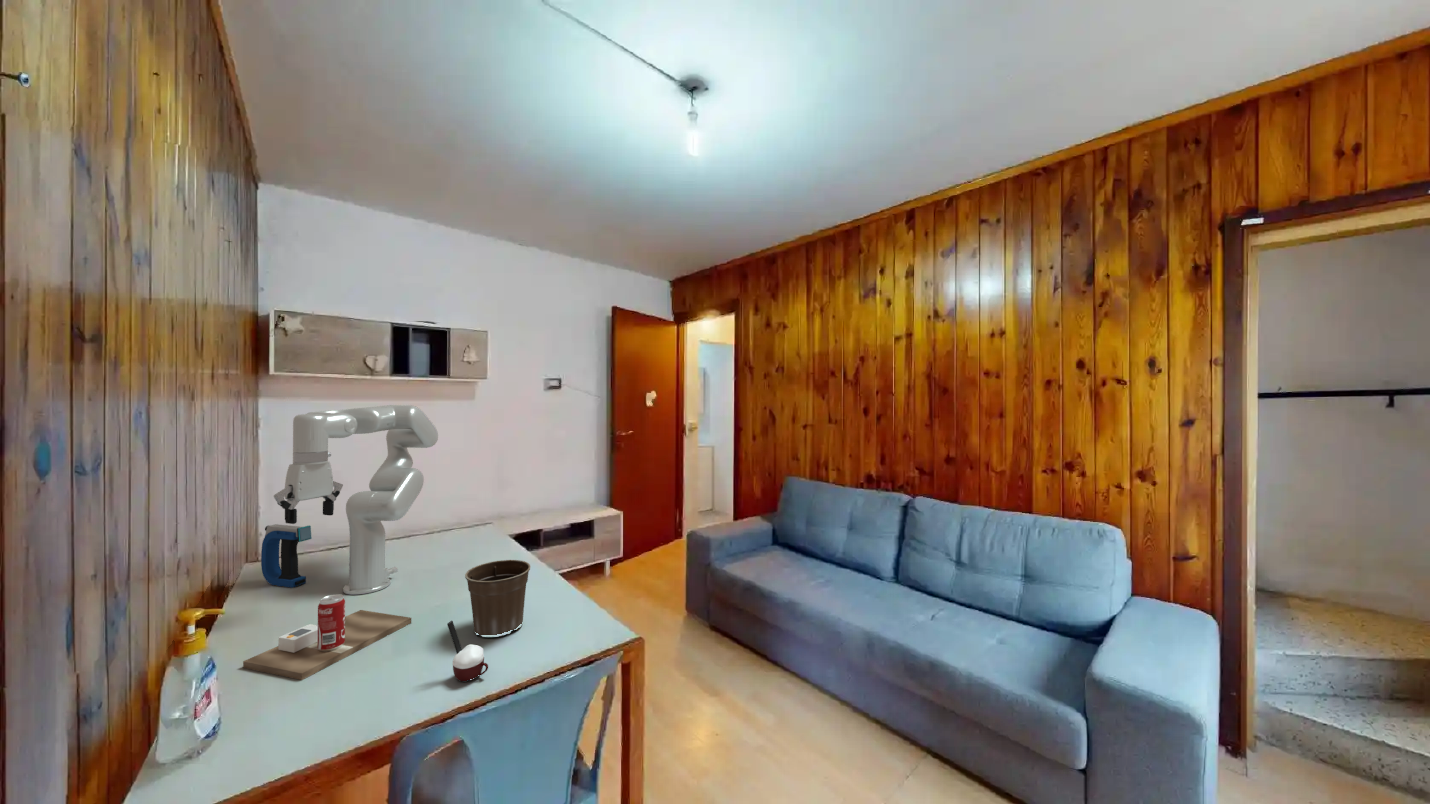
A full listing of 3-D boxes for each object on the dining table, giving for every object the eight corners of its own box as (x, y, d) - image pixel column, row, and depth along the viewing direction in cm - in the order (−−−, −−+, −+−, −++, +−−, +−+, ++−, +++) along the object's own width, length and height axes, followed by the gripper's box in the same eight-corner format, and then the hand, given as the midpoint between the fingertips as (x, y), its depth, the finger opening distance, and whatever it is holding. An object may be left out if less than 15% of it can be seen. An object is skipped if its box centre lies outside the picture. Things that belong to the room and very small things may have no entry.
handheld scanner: (298, 589, 155) (299, 528, 155) (259, 584, 158) (260, 525, 158) (312, 584, 159) (314, 525, 160) (274, 579, 163) (275, 522, 163)
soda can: (327, 641, 119) (328, 593, 119) (349, 641, 119) (350, 593, 119) (311, 652, 114) (312, 602, 114) (335, 652, 114) (335, 602, 114)
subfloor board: (360, 615, 137) (360, 609, 137) (411, 623, 133) (411, 617, 133) (243, 667, 110) (243, 661, 110) (301, 680, 106) (301, 673, 106)
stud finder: (309, 635, 122) (309, 623, 122) (324, 638, 120) (324, 625, 120) (278, 649, 115) (278, 636, 115) (293, 652, 114) (294, 639, 114)
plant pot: (464, 649, 119) (464, 585, 119) (464, 622, 134) (465, 564, 134) (533, 635, 127) (533, 574, 127) (526, 610, 141) (527, 556, 141)
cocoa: (492, 677, 108) (496, 624, 108) (466, 691, 103) (470, 635, 103) (466, 664, 113) (470, 613, 113) (440, 676, 107) (444, 622, 107)
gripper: (332, 454, 143) (331, 511, 143) (265, 461, 126) (264, 525, 126) (351, 455, 141) (350, 513, 141) (286, 462, 125) (285, 528, 125)
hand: (310, 519), depth 134 cm, fingers open, 9 cm apart
